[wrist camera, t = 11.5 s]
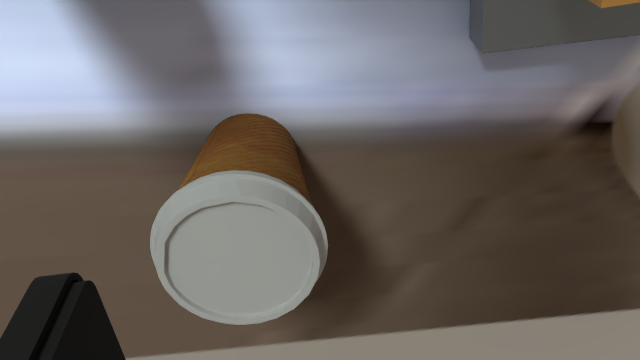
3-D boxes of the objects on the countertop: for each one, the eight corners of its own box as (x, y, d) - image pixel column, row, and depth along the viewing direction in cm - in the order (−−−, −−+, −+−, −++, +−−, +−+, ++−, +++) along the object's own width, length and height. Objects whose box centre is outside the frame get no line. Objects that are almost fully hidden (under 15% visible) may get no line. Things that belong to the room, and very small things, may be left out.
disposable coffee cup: (332, 197, 44) (344, 313, 34) (205, 223, 45) (180, 344, 35) (302, 76, 39) (306, 169, 29) (161, 107, 40) (116, 209, 30)
